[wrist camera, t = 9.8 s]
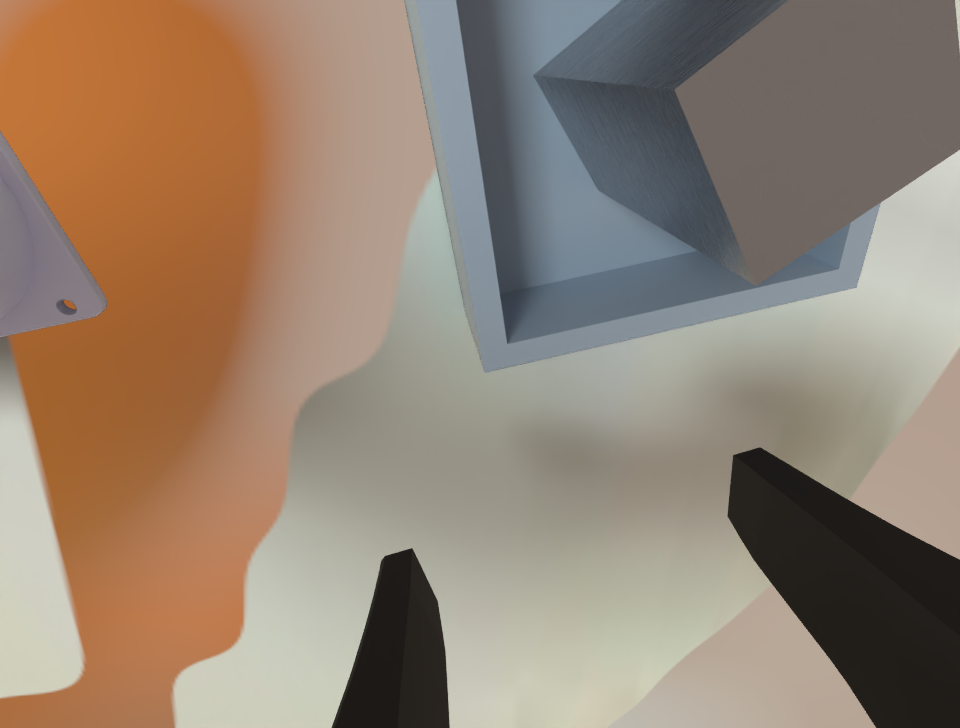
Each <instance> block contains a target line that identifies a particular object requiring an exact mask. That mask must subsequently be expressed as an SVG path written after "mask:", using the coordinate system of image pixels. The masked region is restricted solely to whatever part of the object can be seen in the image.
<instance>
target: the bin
mask: <svg viewBox="0 0 960 728" xmlns="http://www.w3.org/2000/svg"><path fill="white" fill-rule="evenodd" d="M620 1H621V0H404V2H405V7H406V12H407V17H408V22H409V27H410V32H411V37H412V42H413V47H414V53H415V57H416V63H417V68H418V73H419V78H420V83H421V88H422V93H423V99H424V104H425V108H426V114H427V119H428V124H429V129H430V134H431V139H432V145H433V150H434V155H435V160H436V165H437V170H438V175H439V180H440V185H441V191H442V196H443V201H444V206H445V211H446V216H447V221H448V226H449V231H450V237H451V242H452V247H453V252H454V257H455V262H456V267H457V272H458V277H459V283H460V288H461V293H462V298H463V303H464V308H465V313H466V317H467V320H468V323H469V326H470V329H471V332H472V335H473V338H474V341H475V344H476V347H477V350H478V353H479V356H480V360H481V363H482V366H483V369H484V372H485V373H486V372H490V371H494V370H499V369H503V368H507V367H512V366H516V365H521V364H525V363H529V362H534V361H538V360H542V359H547V358H551V357H555V356H560V355H564V354H569V353H573V352H577V351H582V350H586V349H590V348H595V347H599V346H603V345H608V344H612V343H617V342H621V341H625V340H630V339H634V338H638V337H643V336H647V335H652V334H656V333H660V332H665V331H669V330H673V329H678V328H682V327H686V326H691V325H695V324H700V323H704V322H708V321H713V320H717V319H721V318H726V317H730V316H734V315H739V314H743V313H748V312H752V311H756V310H761V309H765V308H769V307H774V306H778V305H782V304H787V303H791V302H796V301H800V300H804V299H809V298H813V297H817V296H822V295H826V294H831V293H835V292H839V291H844V290H848V289H852V288H856V287H857V284H858V280H859V277H860V273H861V270H862V266H863V263H864V259H865V256H866V252H867V249H868V245H869V242H870V238H871V235H872V231H873V228H874V224H875V221H876V217H877V214H878V210H879V207H880V203H879V204H878V205H876V206H875V207H873V208H872V209H870V210H869V211H867V212H866V213H864V214H863V215H861V216H860V217H858V218H857V219H855V220H854V221H852V222H851V223H849V224H848V225H846V226H845V227H843V228H842V229H840V230H839V231H837V232H836V233H834V234H833V235H831V236H830V237H828V238H827V239H825V240H824V241H822V242H821V243H819V244H818V245H816V246H815V247H813V248H812V249H810V250H809V251H807V252H806V253H804V254H803V255H801V256H800V257H798V258H797V259H795V260H794V261H792V262H791V263H789V264H788V265H786V266H785V267H783V268H782V269H780V270H779V271H777V272H776V273H774V274H773V275H771V276H770V277H768V278H767V279H765V280H764V281H763V282H761V283H760V284H758V285H757V286H756V285H754V284H752V283H751V282H749V281H747V280H746V279H744V278H742V277H741V276H739V275H737V274H736V273H734V272H732V271H731V270H729V269H727V268H726V267H724V266H722V265H721V264H719V263H717V262H716V261H714V260H713V259H711V258H709V257H708V256H706V255H704V254H703V253H701V252H699V251H698V250H696V249H694V248H693V247H691V246H689V245H688V244H686V243H684V242H683V241H681V240H679V239H678V238H676V237H674V236H673V235H671V234H669V233H668V232H666V231H664V230H663V229H661V228H660V227H658V226H656V225H655V224H653V223H651V222H650V221H648V220H646V219H645V218H643V217H641V216H640V215H638V214H636V213H635V212H633V211H631V210H630V209H628V208H626V207H625V206H623V205H621V204H620V203H618V202H616V201H615V200H613V199H611V198H610V197H608V196H607V195H605V194H603V193H602V192H600V191H598V189H597V187H596V186H595V184H594V182H593V180H592V179H591V177H590V175H589V173H588V172H587V170H586V168H585V166H584V165H583V163H582V161H581V159H580V157H579V156H578V154H577V152H576V150H575V149H574V147H573V145H572V143H571V142H570V140H569V138H568V136H567V135H566V133H565V131H564V129H563V128H562V126H561V124H560V122H559V120H558V119H557V117H556V115H555V113H554V112H553V110H552V108H551V106H550V105H549V103H548V101H547V99H546V98H545V96H544V94H543V92H542V91H541V89H540V87H539V85H538V83H537V82H536V80H535V78H534V76H533V75H534V74H535V73H536V72H537V71H539V70H540V69H541V68H542V67H543V66H545V65H546V64H547V63H548V62H549V61H550V60H552V59H553V58H554V57H555V56H556V55H558V54H559V53H560V52H561V51H562V50H563V49H565V48H566V47H567V46H568V45H569V44H571V43H572V42H573V41H574V40H575V39H576V38H578V37H579V36H580V35H581V34H582V33H584V32H585V31H586V30H587V29H588V28H589V27H591V26H592V25H593V24H594V23H595V22H597V21H598V20H599V19H600V18H601V17H602V16H604V15H605V14H606V13H607V12H608V11H610V10H611V9H612V8H613V7H614V6H615V5H617V4H618V3H619V2H620Z"/></svg>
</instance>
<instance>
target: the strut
mask: <svg viewBox="0 0 960 728" xmlns="http://www.w3.org/2000/svg"><path fill="white" fill-rule="evenodd" d="M533 76H534V78H535V80H536V82H537V83H538V85H539V87H540V89H541V91H542V92H543V94H544V96H545V98H546V99H547V101H548V103H549V105H550V106H551V108H552V110H553V112H554V113H555V115H556V117H557V119H558V120H559V122H560V124H561V126H562V128H563V129H564V131H565V133H566V135H567V136H568V138H569V140H570V142H571V143H572V145H573V147H574V149H575V150H576V152H577V154H578V156H579V157H580V159H581V161H582V163H583V165H584V166H585V168H586V170H587V172H588V173H589V175H590V177H591V179H592V180H593V182H594V184H595V186H596V187H597V189H598V191H600V192H602V193H603V194H605V195H607V196H608V197H610V198H611V199H613V200H615V201H616V202H618V203H620V204H621V205H623V206H625V207H626V208H628V209H630V210H631V211H633V212H635V213H636V214H638V215H640V216H641V217H643V218H645V219H646V220H648V221H650V222H651V223H653V224H655V225H656V226H658V227H660V228H661V229H663V230H664V231H666V232H668V233H669V234H671V235H673V236H674V237H676V238H678V239H679V240H681V241H683V242H684V243H686V244H688V245H689V246H691V247H693V248H694V249H696V250H698V251H699V252H701V253H703V254H704V255H706V256H708V257H709V258H711V259H713V260H714V261H716V262H717V263H719V264H721V265H722V266H724V267H726V268H727V269H729V270H731V271H732V272H734V273H736V274H737V275H739V276H741V277H742V278H744V279H746V280H747V281H749V282H751V283H752V284H754V285H756V286H757V285H758V284H760V283H761V282H763V281H764V280H765V279H767V278H768V277H770V276H771V275H773V274H774V273H776V272H777V271H779V270H780V269H782V268H783V267H785V266H786V265H788V264H789V263H791V262H792V261H794V260H795V259H797V258H798V257H800V256H801V255H803V254H804V253H806V252H807V251H809V250H810V249H812V248H813V247H815V246H816V245H818V244H819V243H821V242H822V241H824V240H825V239H827V238H828V237H830V236H831V235H833V234H834V233H836V232H837V231H839V230H840V229H842V228H843V227H845V226H846V225H848V224H849V223H851V222H852V221H854V220H855V219H857V218H858V217H860V216H861V215H863V214H864V213H866V212H867V211H869V210H870V209H872V208H873V207H875V206H876V205H878V204H879V203H881V202H882V201H884V200H885V199H887V198H888V197H890V196H891V195H893V194H894V193H896V192H897V191H899V190H900V189H902V188H903V187H905V186H906V185H908V184H909V183H911V182H912V181H914V180H915V179H916V178H918V177H919V176H921V175H922V174H924V173H925V172H927V171H928V170H930V169H931V168H933V167H934V166H936V165H937V164H939V163H940V162H942V161H943V160H945V159H946V158H948V157H949V156H951V155H952V154H954V153H955V152H957V151H958V150H960V52H959V41H958V30H957V19H956V8H955V0H621V1H620V2H619V3H618V4H617V5H615V6H614V7H613V8H612V9H611V10H610V11H608V12H607V13H606V14H605V15H604V16H602V17H601V18H600V19H599V20H598V21H597V22H595V23H594V24H593V25H592V26H591V27H589V28H588V29H587V30H586V31H585V32H584V33H582V34H581V35H580V36H579V37H578V38H576V39H575V40H574V41H573V42H572V43H571V44H569V45H568V46H567V47H566V48H565V49H563V50H562V51H561V52H560V53H559V54H558V55H556V56H555V57H554V58H553V59H552V60H550V61H549V62H548V63H547V64H546V65H545V66H543V67H542V68H541V69H540V70H539V71H537V72H536V73H535V74H534V75H533Z"/></svg>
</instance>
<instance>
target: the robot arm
mask: <svg viewBox="0 0 960 728" xmlns="http://www.w3.org/2000/svg"><path fill="white" fill-rule="evenodd" d="M63 300H68V301H71V302H72V303H73V304H74V305H75V306H76V309H77V310H73V309H71V308H68V307H67V306H66V305H65V304H64V301H63ZM106 307H107V300H106V297H105V295H104V293H103V292H102V291H101V289H100V287H99V285H98V284H97V282H96V281H95V279H94V278H93V276H92V275H91V273H90V271H89V270H88V268H87V267H86V265H85V263H84V262H83V260H82V259H81V257H80V256H79V254H78V253H77V251H76V249H75V248H74V246H73V244H72V243H71V241H70V240H69V238H68V237H67V235H66V233H65V232H64V230H63V229H62V227H61V226H60V224H59V222H58V221H57V219H56V218H55V216H54V215H53V213H52V211H51V210H50V208H49V207H48V205H47V203H46V202H45V201H44V199H43V197H42V196H41V194H40V192H39V191H38V189H37V188H36V186H35V185H34V183H33V181H32V180H31V178H30V177H29V175H28V174H27V172H26V170H25V169H24V167H23V166H22V164H21V162H20V161H19V159H18V158H17V156H16V155H15V153H14V151H13V150H12V148H11V147H10V145H9V144H8V142H7V140H6V139H5V137H4V136H3V134H2V133H1V131H0V337H4V336H9V335H13V334H18V333H23V332H27V331H32V330H37V329H41V328H46V327H51V326H56V325H60V324H65V323H69V322H74V321H79V320H84V319H88V318H93V317H96V316H98V315H100V314H101V313H102V312H103V311H104V310H105V308H106ZM728 518H729V519H730V521H731V523H732V525H733V526H734V528H735V530H736V531H737V533H738V535H739V536H740V538H741V540H742V542H743V543H744V545H745V546H746V548H747V550H748V551H749V553H750V554H751V556H752V558H753V559H754V561H755V562H756V563H757V565H758V566H759V567H760V569H761V570H762V571H763V573H764V574H765V575H766V577H767V578H768V579H769V581H770V582H771V583H772V584H773V586H774V587H775V588H776V590H777V591H778V592H779V594H780V595H781V596H782V598H783V599H784V600H785V601H786V603H787V604H788V605H789V606H790V608H791V609H792V611H793V612H794V613H795V614H796V616H797V617H798V618H799V619H800V621H801V622H802V623H803V625H804V626H805V627H806V629H807V630H808V631H809V632H810V634H811V635H812V636H813V638H814V639H815V640H816V642H817V643H818V644H819V645H820V647H821V648H822V649H823V650H824V652H825V653H826V655H827V656H828V657H829V658H830V660H831V661H832V662H833V664H834V665H835V667H836V668H837V669H838V671H839V672H840V674H841V675H842V676H843V678H844V679H845V681H846V682H847V683H848V685H849V686H850V688H851V689H852V691H853V693H854V694H855V696H856V697H857V699H858V700H859V702H860V703H861V705H862V706H863V708H864V710H865V711H866V713H867V714H868V716H869V717H870V719H871V720H872V722H873V723H874V725H875V726H876V728H960V560H959V559H957V558H955V557H953V556H951V555H949V554H947V553H945V552H943V551H941V550H939V549H937V548H936V547H934V546H932V545H930V544H928V543H926V542H924V541H922V540H920V539H918V538H916V537H914V536H912V535H910V534H908V533H906V532H905V531H903V530H901V529H899V528H897V527H896V526H894V525H892V524H890V523H888V522H886V521H885V520H883V519H881V518H879V517H877V516H876V515H874V514H872V513H870V512H869V511H867V510H865V509H863V508H861V507H860V506H858V505H856V504H854V503H853V502H851V501H849V500H848V499H846V498H844V497H842V496H841V495H839V494H837V493H836V492H834V491H832V490H830V489H829V488H827V487H825V486H824V485H822V484H820V483H819V482H817V481H815V480H814V479H812V478H810V477H809V476H807V475H805V474H804V473H802V472H800V471H799V470H797V469H795V468H794V467H792V466H790V465H789V464H787V463H785V462H784V461H782V460H780V459H779V458H777V457H775V456H774V455H772V454H770V453H769V452H767V451H765V450H764V449H762V448H756V449H753V450H749V451H746V452H743V453H739V454H736V455H733V464H732V474H731V485H730V496H729V506H728ZM332 728H450V727H449V708H448V689H447V671H446V655H445V646H444V639H443V632H442V626H441V619H440V613H439V607H438V601H437V599H436V597H435V595H434V593H433V590H432V588H431V586H430V584H429V582H428V580H427V578H426V576H425V574H424V572H423V570H422V567H421V565H420V563H419V561H418V559H417V557H416V555H415V553H414V551H413V549H412V548H411V549H408V550H404V551H401V552H398V553H394V554H391V555H387V556H385V557H384V558H383V559H382V561H381V565H380V570H379V575H378V579H377V583H376V588H375V592H374V596H373V600H372V603H371V607H370V611H369V615H368V618H367V622H366V625H365V629H364V632H363V636H362V639H361V642H360V645H359V649H358V652H357V655H356V658H355V662H354V665H353V668H352V671H351V674H350V677H349V680H348V683H347V686H346V689H345V692H344V695H343V697H342V700H341V703H340V706H339V709H338V711H337V714H336V717H335V720H334V723H333V726H332Z"/></svg>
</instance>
